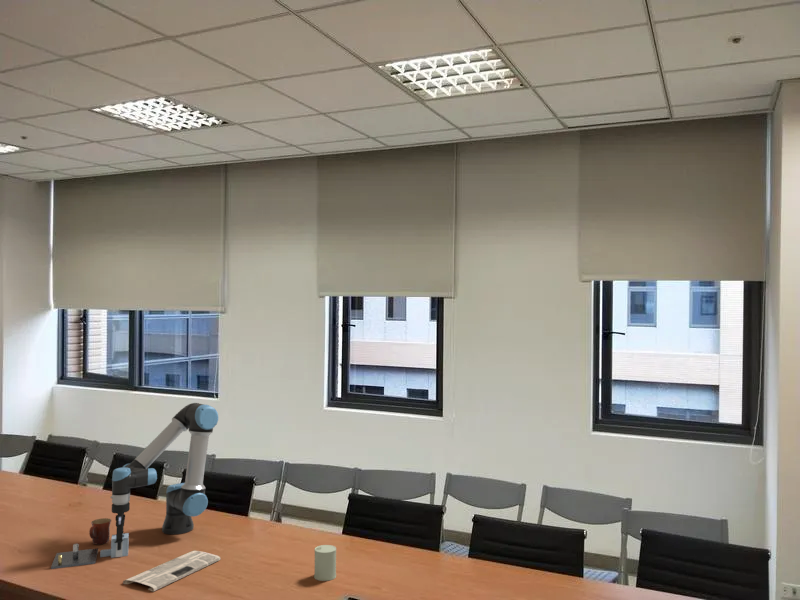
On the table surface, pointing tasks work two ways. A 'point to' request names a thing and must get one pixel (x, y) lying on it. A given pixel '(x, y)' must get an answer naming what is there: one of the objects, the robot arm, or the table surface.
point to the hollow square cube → (112, 551)
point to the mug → (100, 531)
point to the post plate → (76, 561)
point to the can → (325, 562)
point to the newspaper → (174, 570)
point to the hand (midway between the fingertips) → (119, 553)
